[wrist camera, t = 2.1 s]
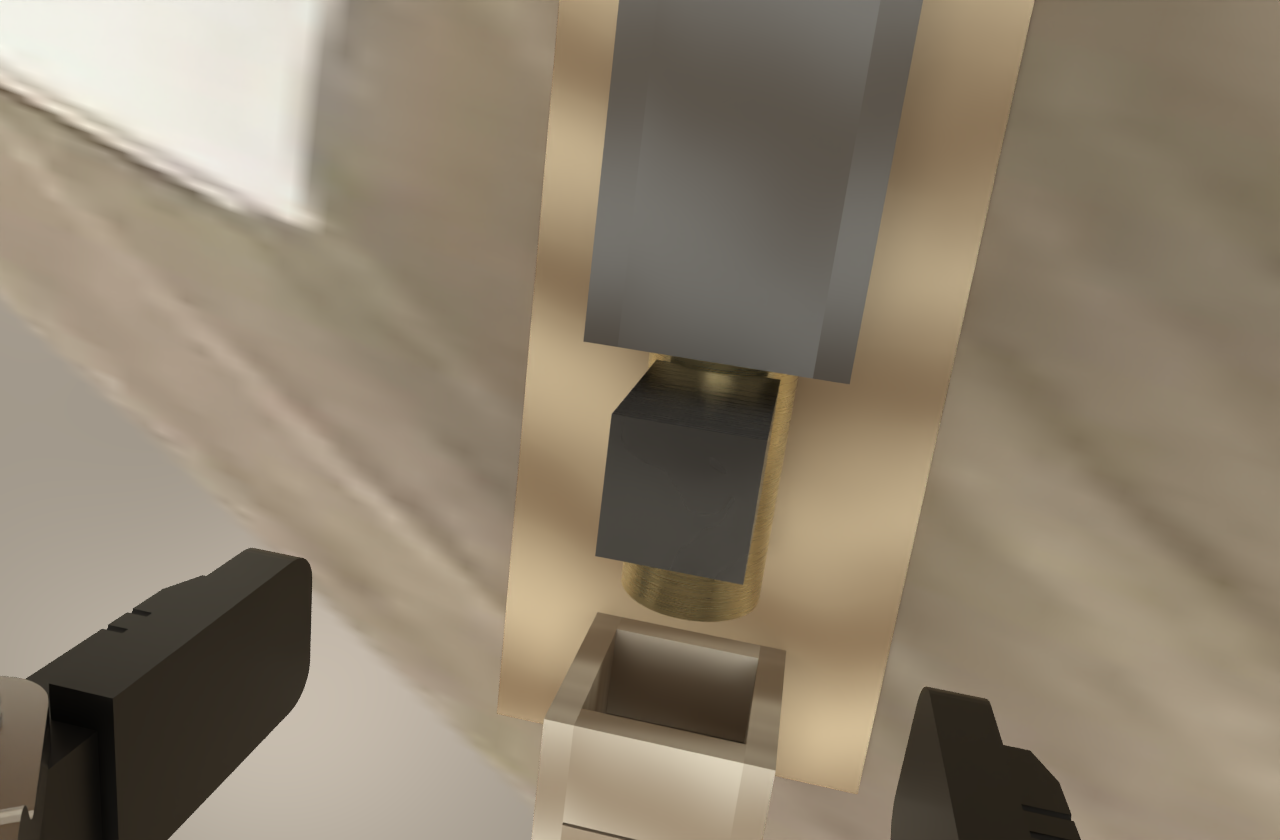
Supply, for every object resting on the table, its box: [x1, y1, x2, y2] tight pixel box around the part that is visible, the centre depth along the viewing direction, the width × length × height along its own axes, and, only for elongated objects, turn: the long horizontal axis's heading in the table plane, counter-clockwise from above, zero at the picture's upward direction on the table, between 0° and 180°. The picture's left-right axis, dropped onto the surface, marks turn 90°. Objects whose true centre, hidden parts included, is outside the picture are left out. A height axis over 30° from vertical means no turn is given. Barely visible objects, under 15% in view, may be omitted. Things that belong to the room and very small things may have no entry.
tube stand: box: [497, 0, 1034, 840], centre depth 25 cm, size 28×12×7 cm, turn 173°
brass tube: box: [595, 352, 798, 622], centre depth 21 cm, size 17×4×8 cm, turn 173°
